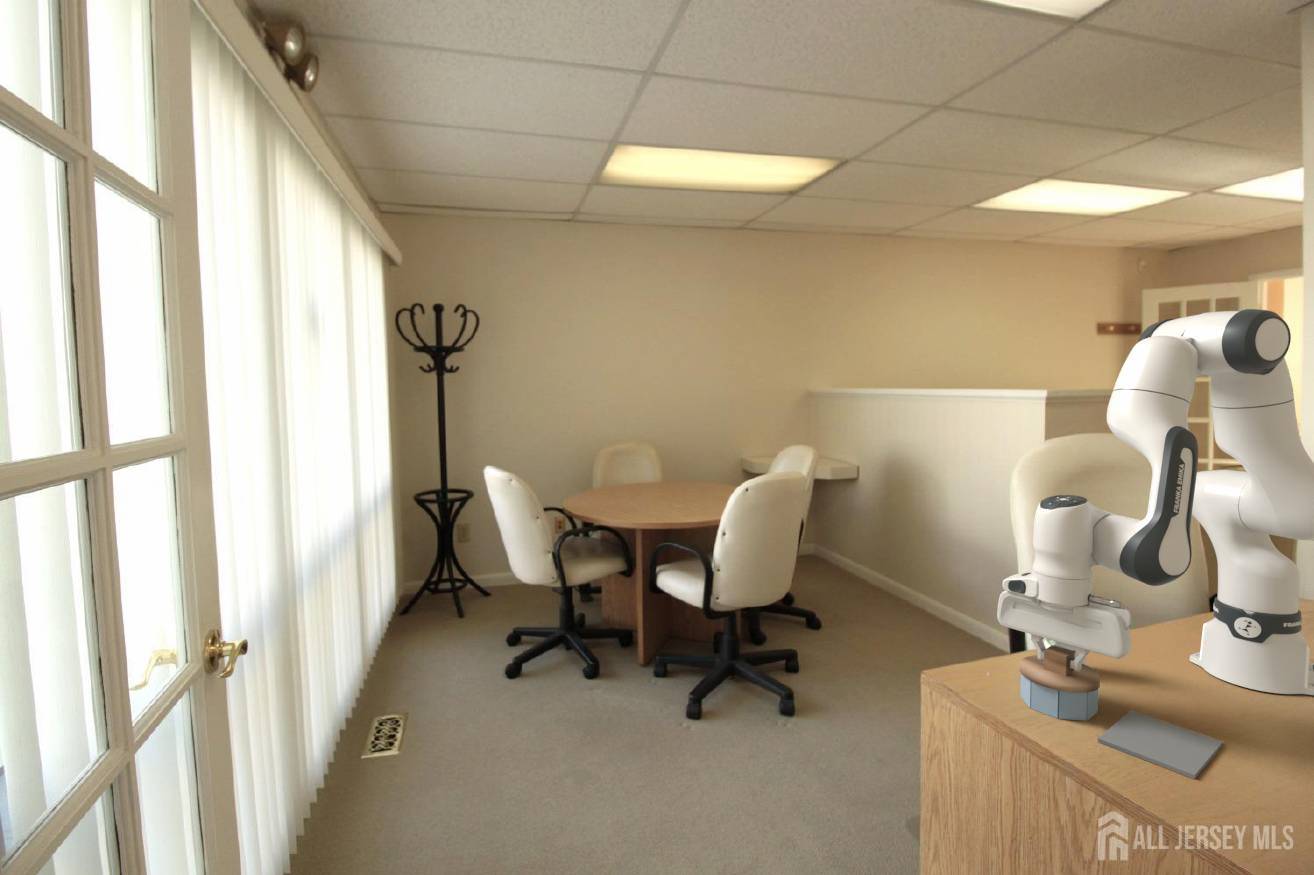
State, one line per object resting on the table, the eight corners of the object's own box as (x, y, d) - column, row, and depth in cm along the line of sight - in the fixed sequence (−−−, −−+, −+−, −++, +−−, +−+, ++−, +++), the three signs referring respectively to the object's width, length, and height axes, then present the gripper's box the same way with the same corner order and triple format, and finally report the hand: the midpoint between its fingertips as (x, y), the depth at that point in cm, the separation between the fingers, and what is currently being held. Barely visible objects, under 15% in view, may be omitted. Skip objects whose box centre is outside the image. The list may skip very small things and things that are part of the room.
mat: (1131, 713, 108) (1131, 710, 107) (1222, 744, 98) (1223, 741, 98) (1097, 741, 99) (1097, 738, 99) (1194, 779, 90) (1194, 775, 90)
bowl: (1039, 683, 119) (1039, 658, 118) (1105, 706, 110) (1106, 678, 110) (1011, 701, 113) (1011, 674, 112) (1079, 726, 104) (1080, 697, 103)
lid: (1038, 655, 119) (1038, 631, 119) (1111, 678, 110) (1112, 652, 109) (1007, 673, 112) (1007, 648, 112) (1082, 699, 103) (1083, 672, 102)
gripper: (1139, 599, 103) (1136, 680, 104) (1010, 571, 120) (1008, 642, 121) (1124, 608, 99) (1121, 692, 101) (993, 578, 116) (992, 650, 117)
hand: (1059, 664), depth 111 cm, fingers closed on lid, 3 cm apart
